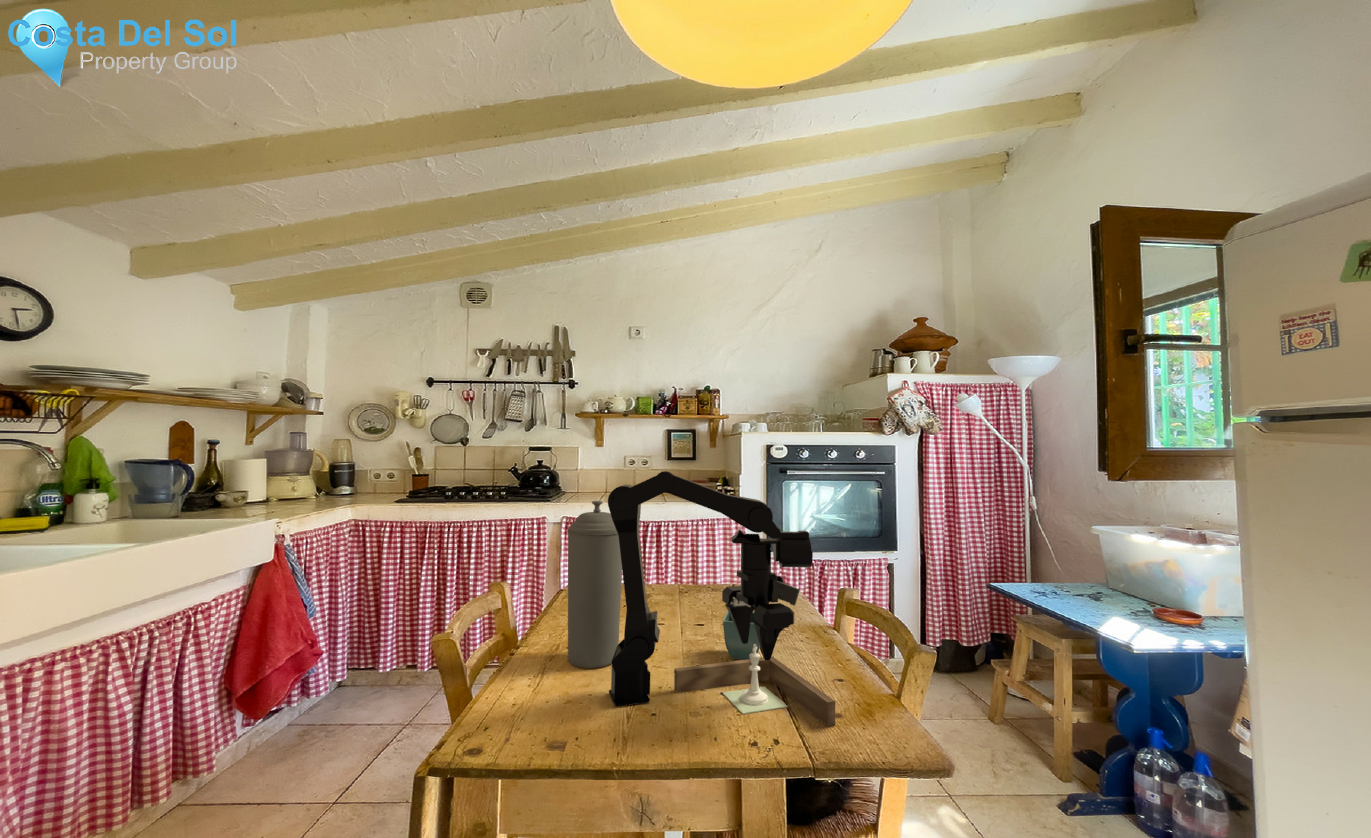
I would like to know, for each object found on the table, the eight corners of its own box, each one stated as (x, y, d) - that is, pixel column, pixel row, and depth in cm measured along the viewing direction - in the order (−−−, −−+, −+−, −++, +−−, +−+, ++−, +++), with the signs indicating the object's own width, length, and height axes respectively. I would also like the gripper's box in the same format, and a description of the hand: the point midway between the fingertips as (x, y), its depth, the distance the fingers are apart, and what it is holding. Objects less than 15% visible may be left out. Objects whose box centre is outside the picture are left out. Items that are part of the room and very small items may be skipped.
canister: (553, 658, 122) (557, 500, 124) (601, 646, 130) (605, 497, 133) (582, 676, 112) (587, 504, 115) (633, 661, 121) (636, 501, 123)
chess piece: (737, 702, 101) (738, 646, 102) (745, 691, 105) (746, 638, 106) (763, 707, 99) (764, 650, 100) (770, 696, 103) (771, 642, 104)
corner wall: (718, 746, 86) (719, 719, 86) (674, 689, 106) (674, 668, 107) (835, 725, 93) (835, 701, 93) (772, 676, 114) (772, 656, 114)
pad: (742, 714, 97) (742, 713, 97) (722, 693, 105) (722, 692, 105) (787, 707, 100) (787, 706, 100) (764, 687, 108) (764, 686, 108)
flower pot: (762, 665, 119) (762, 623, 120) (722, 662, 121) (722, 620, 122) (764, 651, 128) (764, 612, 129) (727, 648, 130) (727, 609, 130)
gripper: (820, 574, 98) (820, 664, 97) (769, 556, 115) (770, 632, 114) (764, 578, 94) (764, 671, 93) (721, 559, 112) (720, 637, 111)
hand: (755, 651), depth 103 cm, fingers open, 9 cm apart
